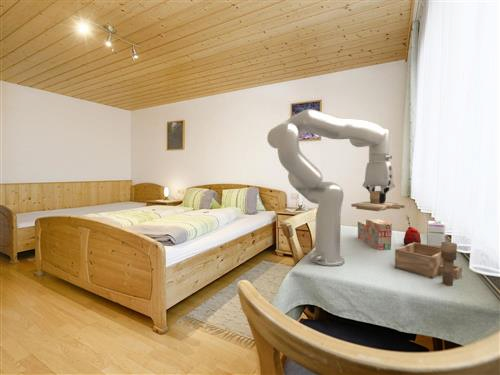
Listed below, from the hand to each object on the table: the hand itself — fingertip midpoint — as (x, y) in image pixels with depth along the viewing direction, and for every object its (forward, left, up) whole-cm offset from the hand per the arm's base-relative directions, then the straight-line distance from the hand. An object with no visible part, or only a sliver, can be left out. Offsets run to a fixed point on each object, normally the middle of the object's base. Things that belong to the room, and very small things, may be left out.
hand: (377, 202), depth 109 cm
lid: (-2, -2, -3) cm, 4 cm away
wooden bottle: (-11, -28, -23) cm, 38 cm away
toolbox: (-2, -21, -23) cm, 31 cm away
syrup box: (+17, -16, -23) cm, 33 cm away
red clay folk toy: (+25, -4, -23) cm, 34 cm away
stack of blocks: (+16, +10, -23) cm, 30 cm away
